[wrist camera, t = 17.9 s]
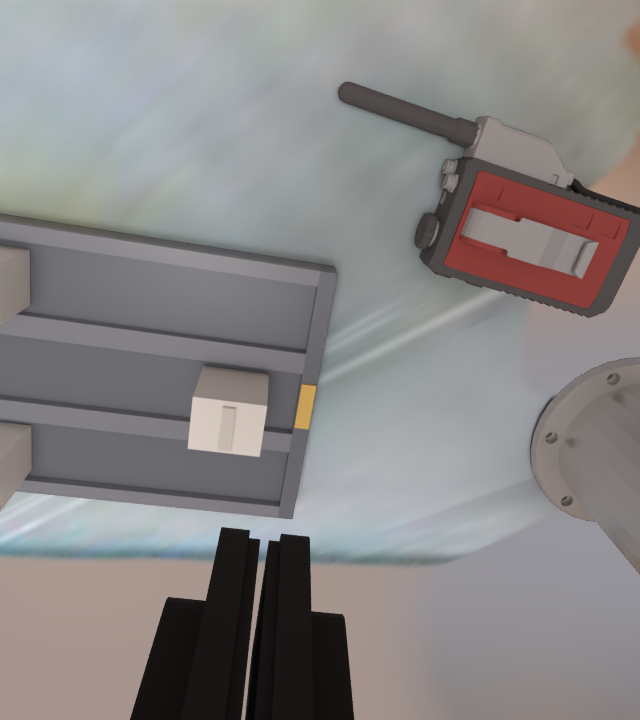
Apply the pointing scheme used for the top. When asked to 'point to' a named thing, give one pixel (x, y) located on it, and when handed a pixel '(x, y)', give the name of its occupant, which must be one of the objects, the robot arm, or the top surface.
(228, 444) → the tab
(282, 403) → the switch board
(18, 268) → the tab
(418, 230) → the walkie-talkie
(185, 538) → the top surface
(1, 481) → the tab
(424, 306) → the top surface
